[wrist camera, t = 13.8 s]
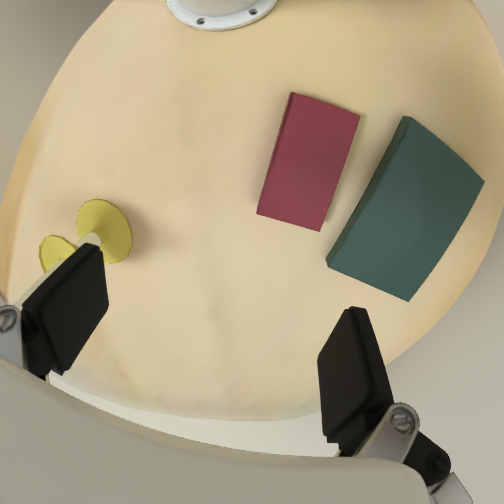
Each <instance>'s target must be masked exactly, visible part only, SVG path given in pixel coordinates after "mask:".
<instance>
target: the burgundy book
mask: <svg viewBox="0 0 504 504" xmlns="http://www.w3.org/2000/svg"><path fill="white" fill-rule="evenodd" d="M359 119H360V115H357V114H355V113H352V112H350V111H347V110H345V109H342V108H339V107H337V106H334V105H331V104H328V103H325V102H323V101H320V100H317V99H313V98H310V97H307V96H304V95H301V94H297V93H294V92H291V93H290V94H289V98H288V101H287V105H286V108H285V112H284V115H283V119H282V122H281V126H280V129H279V132H278V136H277V139H276V143H275V146H274V150H273V153H272V157H271V160H270V164H269V167H268V171H267V174H266V178H265V181H264V185H263V189H262V192H261V196H260V199H259V203H258V207H257V212H256V214H258V215H262V216H266V217H269V218H273V219H276V220H280V221H284V222H287V223H291V224H294V225H298V226H301V227H305V228H308V229H311V230H315V231H318V232H320V229H321V227H322V224H323V222H324V219H325V216H326V214H327V211H328V208H329V206H330V203H331V200H332V198H333V195H334V192H335V190H336V187H337V184H338V181H339V178H340V176H341V173H342V170H343V167H344V164H345V161H346V158H347V155H348V152H349V150H350V147H351V143H352V140H353V137H354V134H355V131H356V128H357V125H358V122H359Z"/></svg>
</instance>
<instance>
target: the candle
mask: <svg viewBox="0 0 504 504" xmlns="http://www.w3.org/2000/svg"><path fill="white" fill-rule="evenodd" d="M76 225H77V233H78V236H79V238H80V240H79V241H78V242H77V243H76V244H75V245H73V244H72V243H71V242H69V241H68V240H66V239H65V238H64V237H61V236H57V235H51V236H48V237H45V238H44V239H43V240H42V242H41V244H40V245H39V259H40V263H41V267H42V269H43V271H44V273H45V274H44V275H42V276H41V277H40V278H39V279H38V280H37V281H36V282H35V283H34V284H33V285H32V286H31V287H30V288H29V289H28V290H27V291H26V292H25V293H24V294H23V295H22V296H21V298H20V299H19V300H18V301H17V302H16V303H15V304H14V305H13V306H16V307H17V308H18V309H19V311H21V310H22V309H23V308H22V303H23V302H24V301H25V300H26V299H27V298H28V297H29V296H30V295H31V294H32V293H33V292H34V291H35V290H36V289H37V287H38V286H39V285H40V284H41V283H42V282H43V281H44V280H45V279H46V278H47V277H48V276H49V275H50V274H51V273H52V272H53V271H55V270H56V269H57V268H58V267H59V266H60V265H61V264H62V263H63V262H64V261H65V260H66V259H67V258H68V257H69V256H70V255H72V254H73V253H74V252H75V251H76V250H77V249H78V248H79V247H80V246H82V245H83V244H84V243H91V244H94V245H98V246H99V247H100V250H101V251H102V252H103V258H104V262H106V263H110V264H111V263H116V262H121V261H122V260H123V259H124V258H125V257H127V256H128V254H129V252H130V249H131V247H132V231H131V229H130V226H129V224H128V221H127V219H126V217H125V216H124V215H123V214H122V212H121V211H120V210H119V209H118V207H116V206H114V205H113V204H111V203H110V202H108V201H106V200H100V199H94V200H91V201H88V202H86V203H85V204H84V205H83V206H82V208H81V209H80V210H79V212H78V216H77V221H76Z"/></svg>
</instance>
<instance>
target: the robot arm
mask: <svg viewBox="0 0 504 504" xmlns="http://www.w3.org/2000/svg"><path fill="white" fill-rule="evenodd" d="M166 1H167V4H168V8H169V9H170V11H171V12H172V14H173V15H174V16H175V17H176V18H178V19H179V20H180V21H182V22H183V23H184V24H186V25H189V26H191V27H193V28H197V29H201V30H208V31H224V30H230V29H236V28H239V27H242V26H245V25H248V24H250V23H252V22H254V21H256V20H258V19H259V18H261V17H262V16H264V15H265V14H267V13H268V12H269V11H270V10H271V9H272V8H273V6H274V5H275V4H276V2H277V1H278V0H166ZM252 13H256V15H252ZM202 22H204V23H203V24H201V23H202ZM108 306H109V301H108V294H107V286H106V278H105V269H104V258H103V252H102V251H101V250H100V247H99V246H98V245H94V244H91V243H84V244H83V245H82V246H80V247H79V248H78V249H77V250H76V251H75V252H74V253H73V254H72V255H70V256H69V257H68V258H67V259H66V260H65V261H64V262H63V263H62V264H61V265H60V266H59V267H58V268H57V269H56V270H55V271H53V272H52V273H51V274H50V275H49V276H48V277H47V278H46V279H45V280H44V281H43V282H42V283H41V284H40V285H39V286H38V287H37V289H36V290H35V291H34V292H33V293H32V294H31V295H30V296H29V297H28V298H27V299H26V300H25V301H24V302H23V303H22V308H23V309H22V310H21V311H19V309H18V308H17V307H16V306H13V305H5V306H1V307H0V504H473V500H472V498H471V496H470V495H469V493H468V492H467V490H466V489H465V487H464V486H463V485H462V483H461V482H460V480H459V479H458V477H457V476H456V475H455V473H454V472H452V473H450V469H451V462H450V458H449V456H448V454H447V453H446V452H445V451H444V450H443V449H441V448H440V447H439V446H438V445H436V444H435V443H433V442H432V441H431V440H430V439H429V438H427V437H426V436H425V435H423V434H422V433H421V432H420V431H418V430H419V426H420V422H419V421H420V420H419V417H418V414H417V413H416V411H415V410H414V409H413V408H412V407H411V406H409V405H408V404H405V403H401V402H400V403H394V400H393V395H392V391H391V387H390V384H389V380H388V376H387V373H386V369H385V366H384V362H383V359H382V356H381V353H380V349H379V346H378V343H377V340H376V337H375V334H374V331H373V328H372V325H371V322H370V319H369V316H368V313H367V311H366V309H364V308H359V307H354V306H351V307H350V308H349V309H345V310H344V312H343V313H342V315H341V317H340V319H339V321H338V322H337V324H336V326H335V328H334V329H333V331H332V333H331V335H330V336H329V338H328V340H327V342H326V343H325V345H324V347H323V348H322V350H321V352H320V353H319V355H318V359H317V365H318V376H319V387H320V400H321V412H322V427H323V428H322V429H323V434H324V436H327V443H338V445H339V451H338V452H337V453H336V454H335V456H334V457H310V456H292V455H291V456H290V455H278V454H268V453H259V452H251V451H245V450H238V449H232V448H226V447H221V446H216V445H211V444H207V443H202V442H197V441H193V440H189V439H185V438H182V437H178V436H174V435H171V434H167V433H164V432H161V431H157V430H154V429H151V428H148V427H145V426H142V425H139V424H136V423H134V422H131V421H128V420H126V419H123V418H120V417H118V416H115V415H113V414H110V413H108V412H105V411H103V410H101V409H98V408H96V407H94V406H92V405H90V404H88V403H85V402H83V401H81V400H79V399H77V398H75V397H73V396H71V395H69V394H67V393H65V392H64V391H62V390H60V389H58V388H56V387H54V386H52V385H51V384H50V381H49V375H48V374H49V372H50V370H52V371H54V372H56V373H57V374H59V375H61V376H62V375H63V373H64V372H65V370H66V371H67V370H69V369H70V367H71V366H72V364H73V363H74V361H75V359H76V358H77V356H78V354H79V353H80V351H81V350H82V348H83V346H84V345H85V343H86V342H87V340H88V339H89V337H90V336H91V334H92V333H93V331H94V329H95V328H96V326H97V325H98V323H99V322H100V321H101V319H102V318H103V316H104V315H105V313H106V312H107V310H108Z"/></svg>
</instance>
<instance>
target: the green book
mask: <svg viewBox="0 0 504 504" xmlns="http://www.w3.org/2000/svg"><path fill="white" fill-rule="evenodd" d="M484 182H485V181H484V180H483V179H482V178H481V177H480V176H479V175H478V174H477V173H476V172H475V171H474V170H473V169H472V168H471V167H470V166H469V165H468V164H467V163H466V162H465V161H464V160H462V159H461V158H460V157H459V156H458V155H457V154H456V153H455V152H454V151H453V150H451V149H450V148H449V147H448V146H447V145H446V144H445V143H443V142H442V141H441V140H440V139H439V138H437V137H436V136H435V135H434V134H432V133H431V132H430V131H429V130H427V129H426V128H425V127H424V126H422V125H421V124H420V123H418V122H417V121H416V120H414V119H413V118H412V117H405V116H403V118H402V120H401V122H400V124H399V126H398V128H397V130H396V132H395V135H394V137H393V139H392V141H391V143H390V145H389V147H388V149H387V151H386V153H385V155H384V157H383V159H382V160H381V162H380V164H379V166H378V168H377V170H376V172H375V174H374V176H373V178H372V179H371V181H370V183H369V185H368V187H367V189H366V191H365V192H364V194H363V196H362V198H361V200H360V201H359V203H358V205H357V207H356V208H355V210H354V212H353V214H352V215H351V217H350V219H349V221H348V222H347V224H346V226H345V228H344V229H343V231H342V233H341V234H340V236H339V238H338V239H337V241H336V243H335V244H334V246H333V248H332V249H331V251H330V253H329V254H328V256H327V257H326V262H327V265H328V267H329V268H331V269H333V270H336V271H338V272H340V273H343V274H345V275H347V276H350V277H352V278H354V279H357V280H359V281H361V282H364V283H366V284H368V285H371V286H373V287H375V288H378V289H380V290H382V291H384V292H387V293H389V294H391V295H394V296H396V297H398V298H400V299H403V300H405V301H407V302H409V301H410V299H411V298H412V297H413V296H414V294H415V293H416V292H417V290H418V289H419V288H420V287H421V285H422V284H423V283H424V281H425V280H426V278H427V277H428V276H429V274H430V273H431V272H432V270H433V269H434V267H435V266H436V264H437V263H438V262H439V260H440V259H441V257H442V256H443V254H444V253H445V251H446V250H447V248H448V246H449V245H450V243H451V242H452V240H453V239H454V237H455V235H456V234H457V232H458V230H459V229H460V227H461V225H462V224H463V222H464V220H465V219H466V217H467V215H468V213H469V211H470V210H471V208H472V206H473V204H474V202H475V200H476V198H477V196H478V195H479V193H480V191H481V189H482V187H483V185H484Z"/></svg>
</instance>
